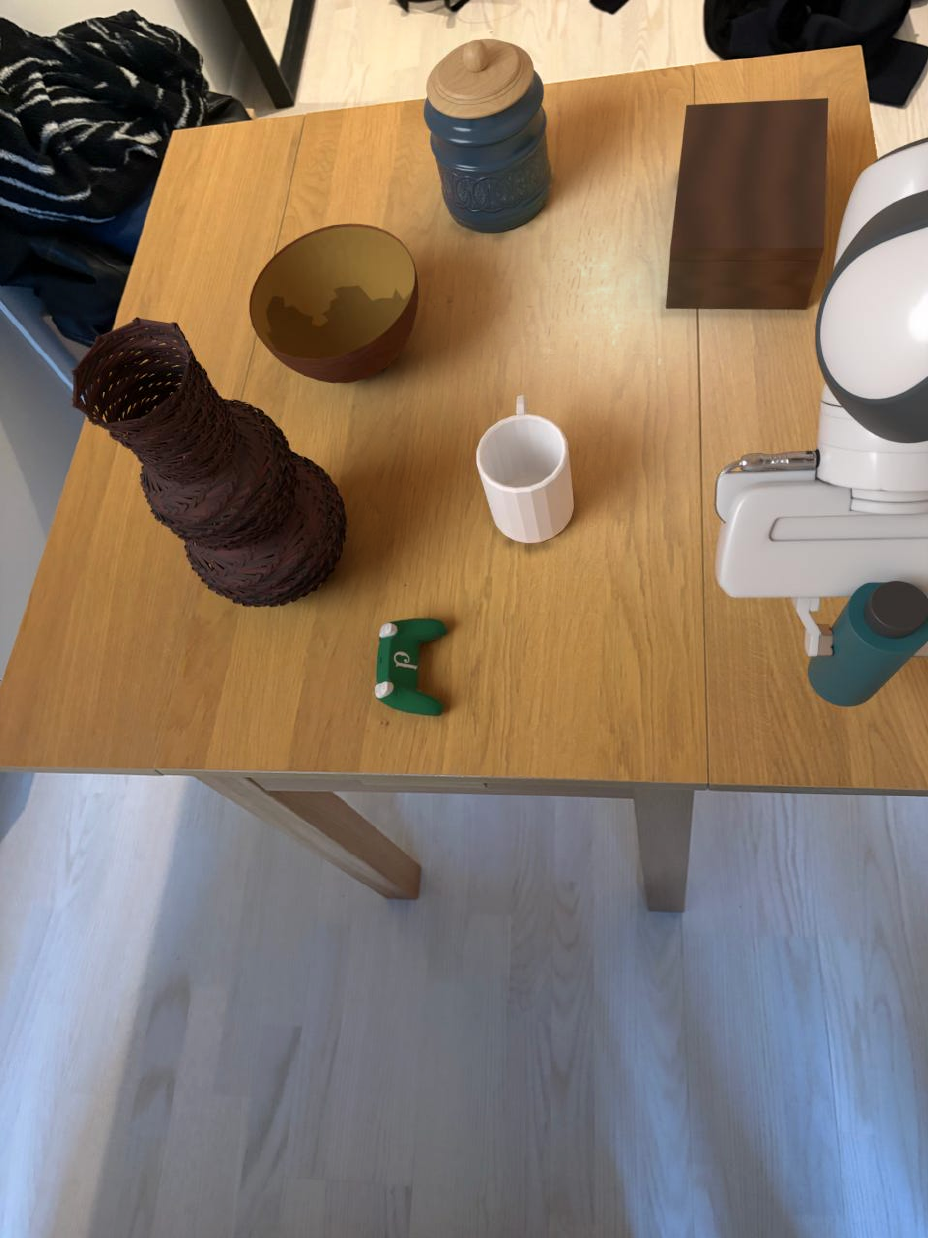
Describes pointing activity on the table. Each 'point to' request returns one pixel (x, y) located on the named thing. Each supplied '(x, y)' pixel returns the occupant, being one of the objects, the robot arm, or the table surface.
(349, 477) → the table surface
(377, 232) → the bowl
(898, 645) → the bottle
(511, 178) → the canister
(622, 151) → the table surface
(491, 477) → the mug
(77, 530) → the table surface
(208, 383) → the vase
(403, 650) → the gaming controller
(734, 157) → the wooden box
